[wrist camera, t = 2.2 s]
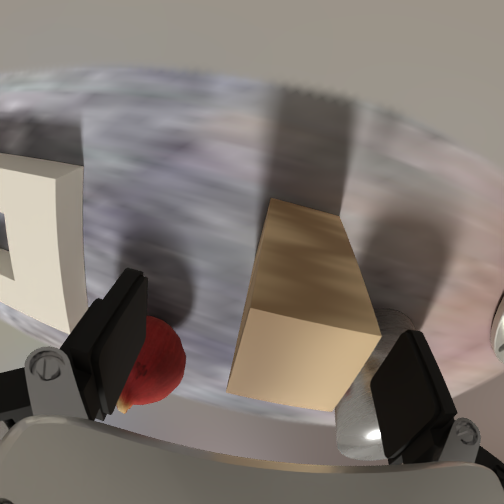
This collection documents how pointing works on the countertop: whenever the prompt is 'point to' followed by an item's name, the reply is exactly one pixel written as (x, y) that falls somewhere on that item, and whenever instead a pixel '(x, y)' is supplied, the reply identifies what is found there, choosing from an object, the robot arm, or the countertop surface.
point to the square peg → (303, 313)
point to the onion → (154, 367)
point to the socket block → (43, 240)
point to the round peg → (367, 395)
